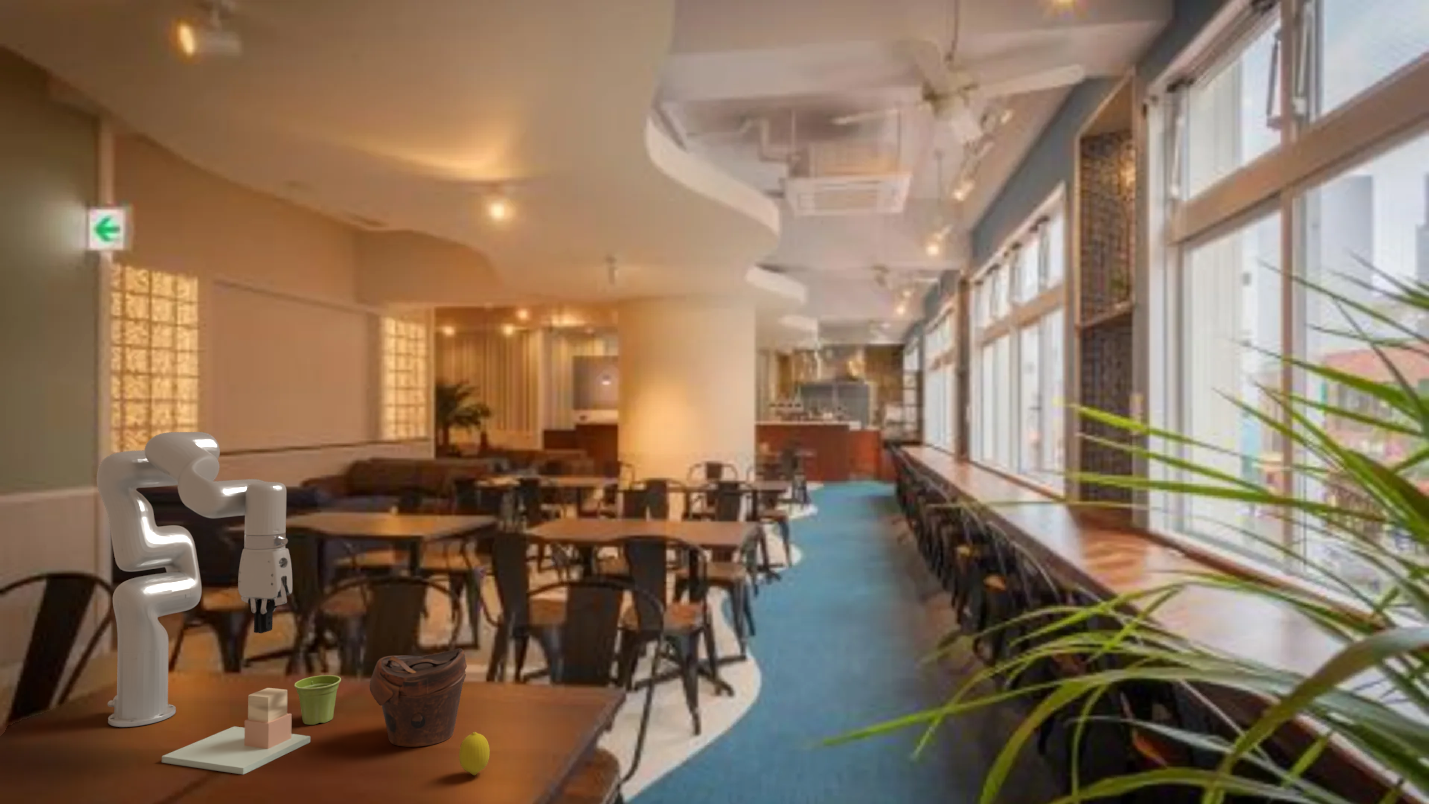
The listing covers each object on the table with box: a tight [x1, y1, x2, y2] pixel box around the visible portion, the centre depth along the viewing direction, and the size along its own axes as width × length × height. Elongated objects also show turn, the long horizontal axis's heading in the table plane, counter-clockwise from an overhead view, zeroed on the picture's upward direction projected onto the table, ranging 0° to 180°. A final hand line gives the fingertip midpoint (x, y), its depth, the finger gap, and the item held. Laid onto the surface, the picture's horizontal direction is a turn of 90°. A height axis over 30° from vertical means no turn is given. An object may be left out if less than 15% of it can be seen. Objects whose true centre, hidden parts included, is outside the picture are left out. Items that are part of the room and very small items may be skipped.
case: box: [369, 647, 468, 748], centre depth 180 cm, size 18×20×18 cm
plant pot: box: [293, 674, 342, 726], centre depth 190 cm, size 9×9×9 cm
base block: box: [244, 712, 293, 749], centre depth 174 cm, size 6×6×5 cm
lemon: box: [458, 731, 491, 776], centre depth 160 cm, size 6×6×8 cm
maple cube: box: [247, 687, 288, 722], centre depth 174 cm, size 5×5×5 cm
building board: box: [161, 725, 311, 775], centre depth 172 cm, size 20×17×1 cm
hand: (263, 631), depth 176 cm, fingers closed
